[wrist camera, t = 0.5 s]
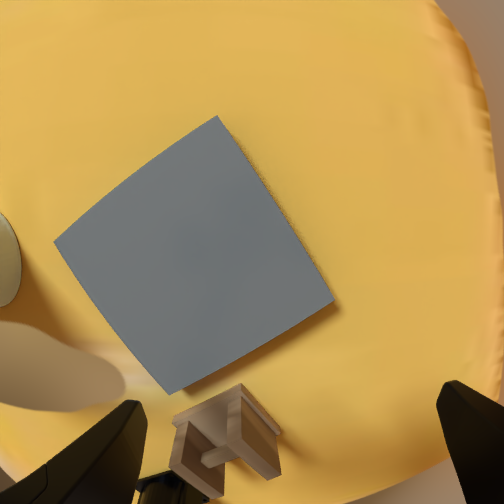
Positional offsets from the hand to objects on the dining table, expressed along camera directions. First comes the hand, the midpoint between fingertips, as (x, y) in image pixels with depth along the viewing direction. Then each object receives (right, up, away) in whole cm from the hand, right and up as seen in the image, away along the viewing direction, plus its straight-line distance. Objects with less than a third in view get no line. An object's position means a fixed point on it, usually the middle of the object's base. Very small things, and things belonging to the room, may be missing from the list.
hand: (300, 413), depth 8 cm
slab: (-6, +4, +14) cm, 15 cm away
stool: (-4, -10, +17) cm, 20 cm away
